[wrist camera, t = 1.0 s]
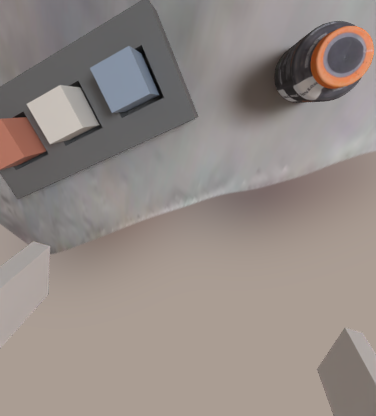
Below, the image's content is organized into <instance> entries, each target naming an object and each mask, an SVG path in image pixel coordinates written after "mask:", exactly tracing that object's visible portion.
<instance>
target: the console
mask: <svg viewBox="0 0 376 416" xmlns="http://www.w3.org/2000/svg"><path fill="white" fill-rule="evenodd" d="M128 46H130V47H132V48H134V49H135V50H137V51H138V52H140V53H141V54H142V56H143V58H144V61H145V63H146V65H147V68H148V70H149V72H150V75H151V77H152V79H153V82H154V84H155V86H156V88H157V91H158V93H159V96H157V97H155V98H153V99H151V100H149V101H147V102H145V103H143V104H141V105H139V106H137V107H135V108H132V109H130V110H128V111H126V112H118V113H112V112H111V110H110V108H109V106H108V104H107V102H106V100H105V98H104V96H103V94H102V92H101V90H100V88H99V86H98V84H97V82H96V80H95V78H94V76H93V74H92V72H91V70H90V68H91V67H92V66H94V65H96V64H98V63H99V62H101V61H103V60H105V59H106V58H108V57H110V56H112V55H114V54H115V53H117V52H119V51H121V50H122V49H124V48H126V47H128ZM59 85H64V86H72V87H80V88H81V90H82V92H83V94H84V96H85V98H86V100H87V102H88V104H89V106H90V107H91V109H92V111H93V113H94V115H95V117H96V119H97V121H98V123H99V125H98V126H96V127H94V128H92V129H90V130H88V131H86V132H84V133H82V134H80V135H78V136H76V137H74V138H72V139H70V140H67V141H62V142H58V143H53V144H49V142H48V140H47V138H46V137H45V135H44V133H43V132H42V130H41V128H40V126H39V125H38V123H37V121H36V120H35V118H34V116H33V115H32V113H31V111H30V109H29V108H28V106H27V104H28V103H29V102H31V101H33V100H35V99H36V98H38V97H40V96H42V95H43V94H45V93H47V92H49V91H50V90H52V89H54V88H56V87H57V86H59ZM21 117H27V119H28V120H29V122H30V124H31V125H32V127H33V129H34V130H35V132H36V134H37V135H38V137H39V139H40V140H41V142H42V144H43V146H44V147H45V149H46V152H44V153H42V154H40V155H38V156H36V157H34V158H32V159H30V160H28V161H26V162H24V163H22V164H20V165H16V166H13V167H10V168H6V169H3V170H0V174H1V175H2V177H3V178H4V180H5V181H6V183H7V184H8V186H9V187H10V189H11V190H12V192H13V193H14V195H15V196H16V198H17V199H19V198H22V197H24V196H26V195H28V194H30V193H32V192H35V191H37V190H39V189H41V188H43V187H46V186H48V185H50V184H52V183H54V182H57V181H59V180H61V179H63V178H65V177H68V176H70V175H72V174H74V173H76V172H79V171H81V170H83V169H85V168H87V167H89V166H92V165H94V164H96V163H98V162H100V161H103V160H105V159H107V158H109V157H111V156H114V155H116V154H118V153H120V152H122V151H125V150H127V149H129V148H131V147H133V146H136V145H138V144H140V143H142V142H144V141H146V140H149V139H151V138H153V137H155V136H157V135H160V134H162V133H164V132H166V131H168V130H171V129H173V128H175V127H177V126H179V125H182V124H184V123H186V122H188V121H190V120H192V119H195V118H197V117H198V114H197V112H196V109H195V107H194V104H193V102H192V99H191V97H190V94H189V92H188V89H187V87H186V84H185V82H184V79H183V77H182V74H181V72H180V69H179V67H178V64H177V62H176V59H175V57H174V54H173V52H172V49H171V47H170V44H169V41H168V39H167V36H166V34H165V31H164V29H163V26H162V24H161V21H160V19H159V16H158V14H157V11H156V10H155V8H154V7H153V5H152V4H151V3H150V1H149V0H141V1H140V2H138V3H137V4H135V5H133V6H132V7H130V8H128V9H127V10H125V11H123V12H122V13H120V14H119V15H117V16H115V17H114V18H112V19H110V20H109V21H107V22H105V23H104V24H102V25H101V26H99V27H97V28H96V29H94V30H92V31H91V32H89V33H88V34H86V35H84V36H83V37H81V38H79V39H78V40H76V41H74V42H73V43H71V44H70V45H68V46H66V47H65V48H63V49H61V50H60V51H58V52H56V53H55V54H53V55H52V56H50V57H48V58H47V59H45V60H43V61H42V62H40V63H38V64H37V65H35V66H34V67H32V68H30V69H29V70H27V71H25V72H24V73H22V74H20V75H19V76H17V77H16V78H14V79H12V80H11V81H9V82H7V83H6V84H4V85H2V86H1V87H0V119H4V118H21Z"/></svg>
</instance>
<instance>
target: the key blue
mask: <svg viewBox="0 0 376 416" xmlns="http://www.w3.org/2000/svg"><path fill="white" fill-rule="evenodd" d="M90 70H91V72H92V74H93V76H94V78H95V80H96V82H97V84H98V86H99V88H100V90H101V92H102V94H103V96H104V98H105V100H106V102H107V104H108V106H109V108H110V110H111V112H112V113H118V112H126V111H128V110H130V109H132V108H135V107H137V106H139V105H141V104H143V103H145V102H147V101H149V100H151V99H153V98H155V97H157V96H159V93H158V91H157V88H156V86H155V84H154V82H153V79H152V77H151V75H150V72H149V70H148V68H147V65H146V63H145V61H144V58H143V56H142V54H141V53H140V52H138V51H137V50H135V49H134V48H132V47H130V46H128V47H126V48H124V49H122V50H121V51H119V52H117V53H115V54H114V55H112V56H110V57H108V58H106V59H105V60H103V61H101V62H99V63H98V64H96V65H94V66H92V67H91V68H90Z"/></svg>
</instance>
